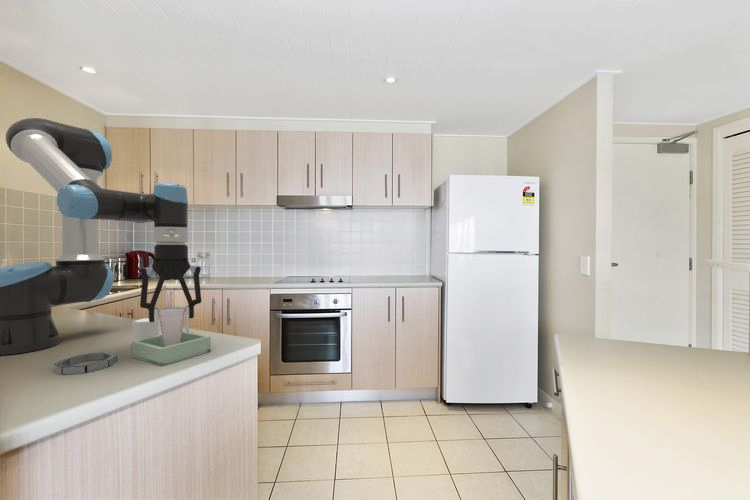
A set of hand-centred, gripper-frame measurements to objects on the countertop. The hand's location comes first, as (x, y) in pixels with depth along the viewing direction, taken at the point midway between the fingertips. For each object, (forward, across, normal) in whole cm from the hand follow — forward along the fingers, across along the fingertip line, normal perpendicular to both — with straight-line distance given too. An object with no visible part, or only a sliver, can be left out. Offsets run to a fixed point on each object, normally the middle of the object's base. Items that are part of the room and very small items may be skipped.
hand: (172, 332), depth 91 cm
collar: (+6, -18, 0) cm, 18 cm away
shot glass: (+6, -6, +15) cm, 17 cm away
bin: (+6, 0, 0) cm, 6 cm away
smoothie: (+4, 0, 0) cm, 4 cm away
